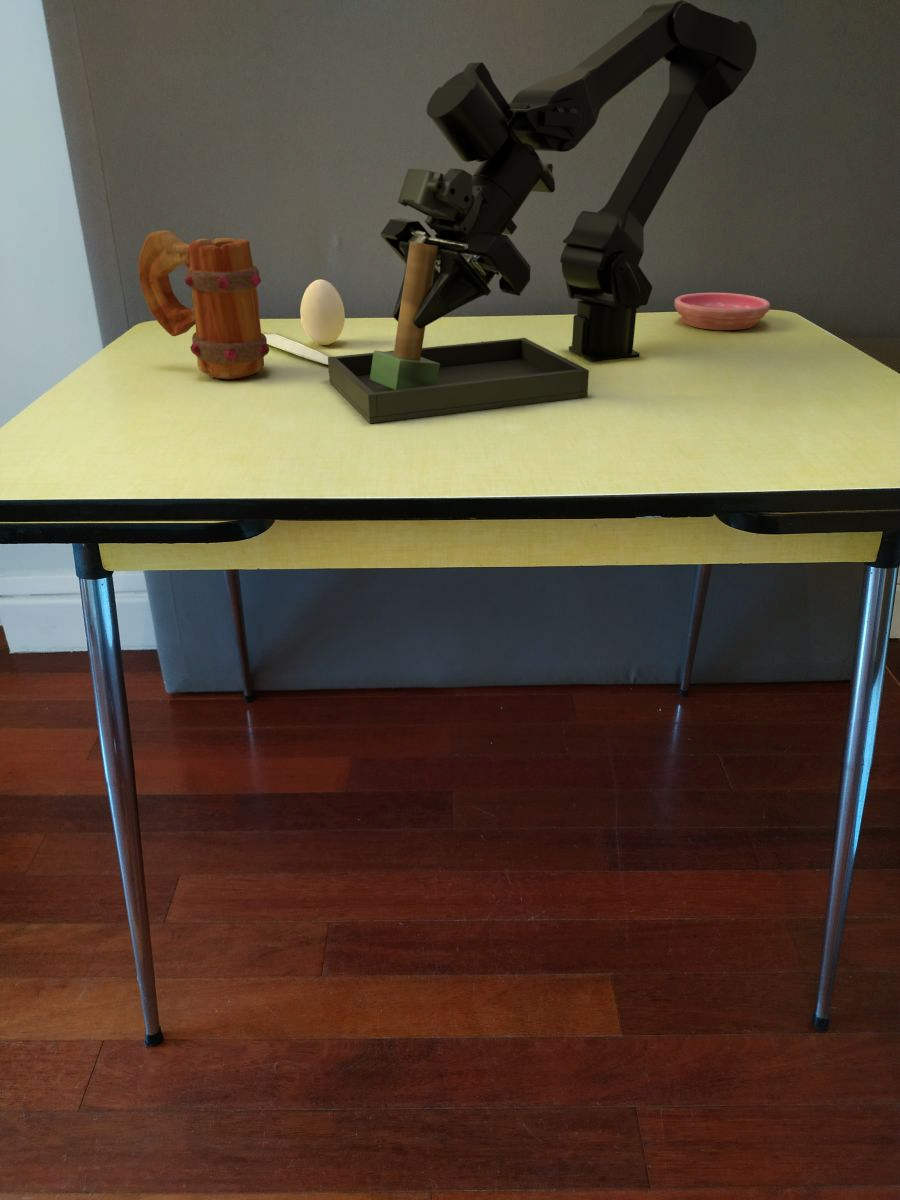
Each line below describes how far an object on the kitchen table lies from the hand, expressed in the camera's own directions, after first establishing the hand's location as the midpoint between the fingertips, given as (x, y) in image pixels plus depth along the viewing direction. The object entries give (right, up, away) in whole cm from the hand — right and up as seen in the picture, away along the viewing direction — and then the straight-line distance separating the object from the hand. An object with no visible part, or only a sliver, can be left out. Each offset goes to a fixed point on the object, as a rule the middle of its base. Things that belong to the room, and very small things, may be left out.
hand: (406, 322), depth 92 cm
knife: (-18, +5, +25) cm, 31 cm away
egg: (-11, +4, +24) cm, 27 cm away
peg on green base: (-1, -6, +3) cm, 6 cm away
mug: (-23, -2, +13) cm, 26 cm away
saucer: (+41, +10, +33) cm, 54 cm away
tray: (+5, -5, +6) cm, 9 cm away
